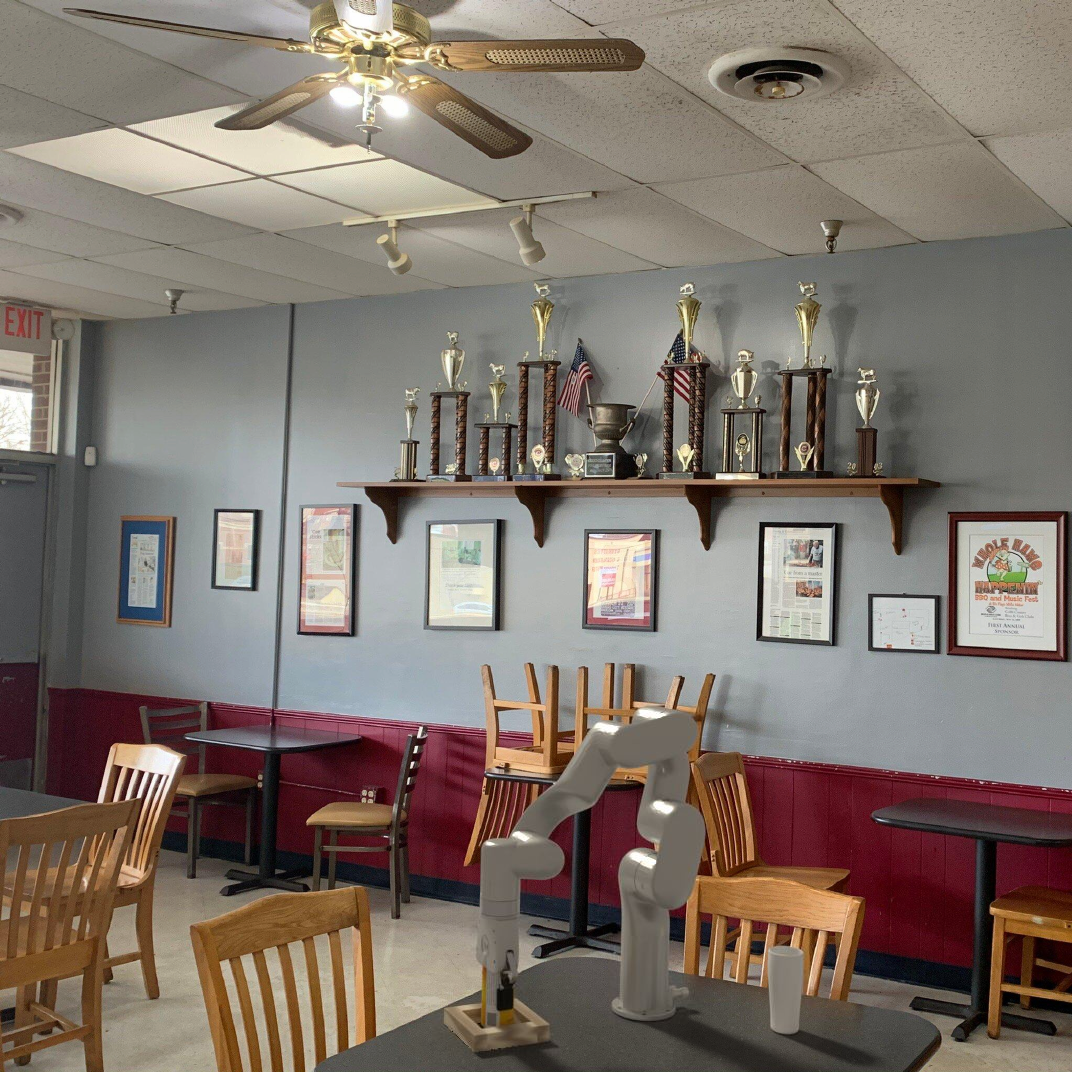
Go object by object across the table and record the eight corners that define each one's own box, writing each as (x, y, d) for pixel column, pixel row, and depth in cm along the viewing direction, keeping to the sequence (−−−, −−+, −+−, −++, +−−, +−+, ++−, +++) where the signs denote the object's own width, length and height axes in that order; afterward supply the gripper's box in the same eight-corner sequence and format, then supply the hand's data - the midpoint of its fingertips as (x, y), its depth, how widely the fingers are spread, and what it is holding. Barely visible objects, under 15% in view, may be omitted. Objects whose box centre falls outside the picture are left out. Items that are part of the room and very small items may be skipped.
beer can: (516, 1023, 226) (518, 943, 227) (509, 1035, 220) (511, 952, 221) (485, 1020, 228) (487, 940, 228) (477, 1032, 222) (479, 950, 222)
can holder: (515, 1013, 234) (516, 998, 234) (549, 1041, 220) (549, 1024, 220) (443, 1024, 227) (444, 1008, 227) (474, 1052, 214) (474, 1035, 214)
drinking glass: (806, 1027, 231) (807, 948, 231) (798, 1039, 224) (799, 958, 225) (771, 1021, 233) (772, 943, 234) (762, 1032, 227) (764, 952, 228)
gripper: (463, 897, 231) (461, 991, 230) (500, 920, 215) (497, 1022, 215) (499, 893, 234) (497, 987, 234) (537, 916, 219) (535, 1016, 218)
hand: (497, 1002), depth 224 cm, fingers closed on beer can, 5 cm apart
